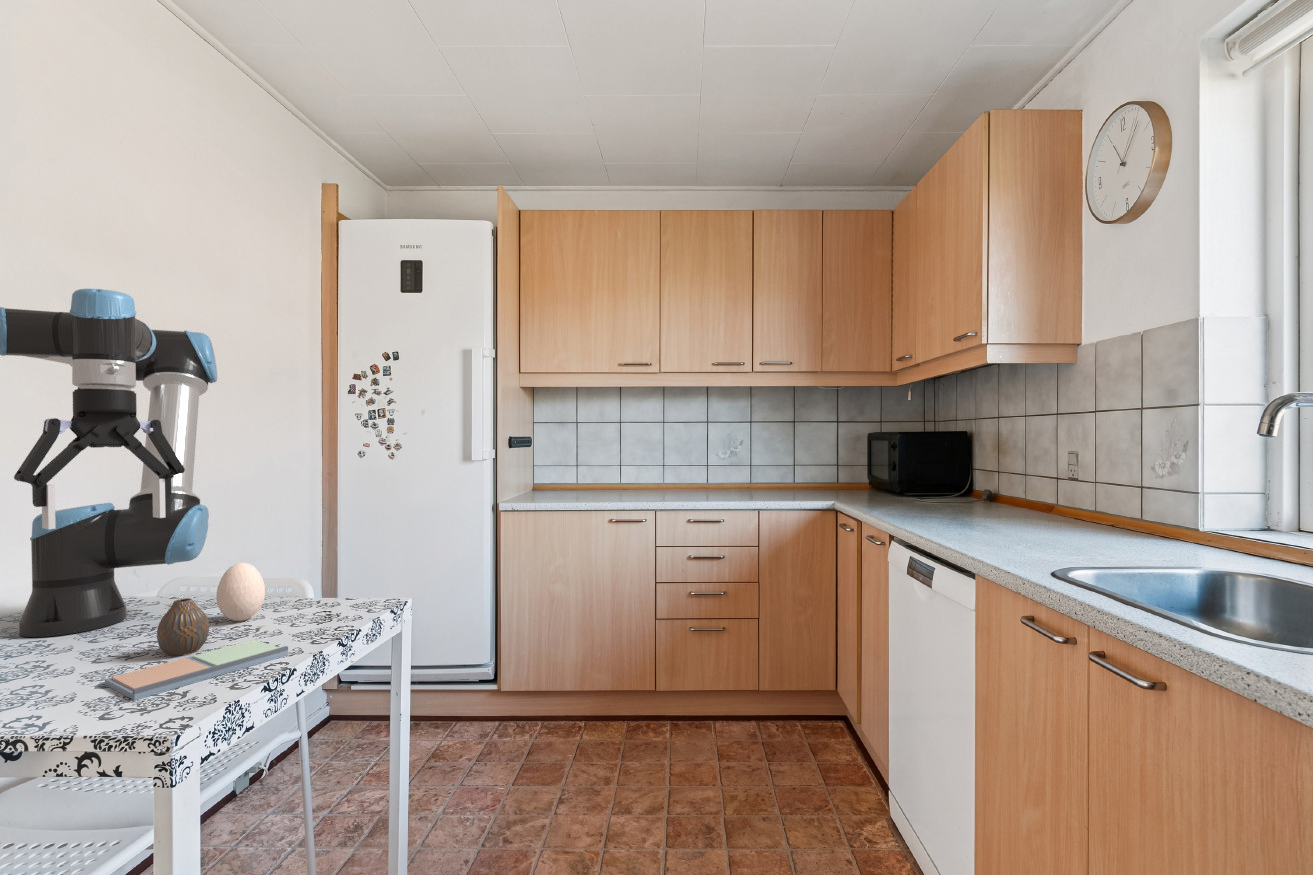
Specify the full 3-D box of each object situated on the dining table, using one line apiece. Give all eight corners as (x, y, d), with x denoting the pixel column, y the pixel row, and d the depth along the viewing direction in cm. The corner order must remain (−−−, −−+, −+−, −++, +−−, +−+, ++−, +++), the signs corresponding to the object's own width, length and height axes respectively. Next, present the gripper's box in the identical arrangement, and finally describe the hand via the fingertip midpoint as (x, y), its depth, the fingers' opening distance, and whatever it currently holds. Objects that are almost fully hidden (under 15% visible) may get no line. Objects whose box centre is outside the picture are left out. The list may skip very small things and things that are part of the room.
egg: (273, 618, 122) (272, 561, 122) (228, 628, 115) (227, 568, 115) (253, 612, 126) (253, 557, 126) (209, 622, 119) (208, 564, 119)
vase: (180, 660, 98) (179, 606, 98) (146, 658, 99) (145, 604, 100) (219, 646, 105) (218, 595, 105) (186, 644, 106) (185, 594, 106)
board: (105, 684, 89) (104, 674, 89) (254, 644, 105) (254, 636, 105) (134, 700, 83) (134, 689, 83) (288, 655, 100) (288, 646, 100)
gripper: (-1, 382, 84) (2, 535, 84) (206, 392, 106) (208, 514, 106) (-17, 385, 88) (-15, 532, 88) (186, 394, 109) (188, 512, 109)
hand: (107, 522), depth 97 cm, fingers open, 13 cm apart
